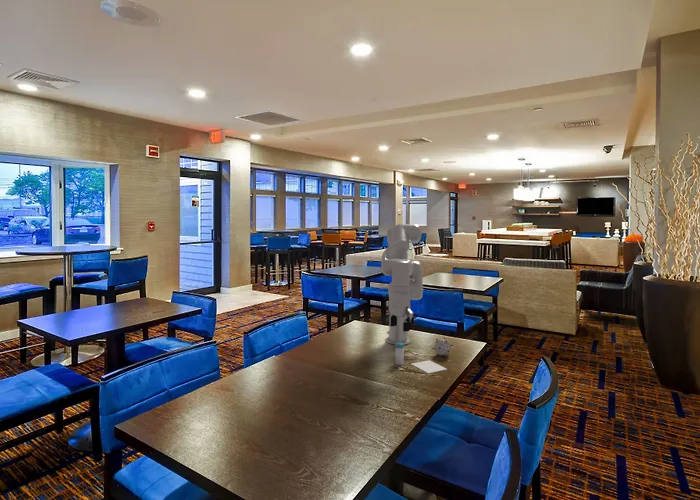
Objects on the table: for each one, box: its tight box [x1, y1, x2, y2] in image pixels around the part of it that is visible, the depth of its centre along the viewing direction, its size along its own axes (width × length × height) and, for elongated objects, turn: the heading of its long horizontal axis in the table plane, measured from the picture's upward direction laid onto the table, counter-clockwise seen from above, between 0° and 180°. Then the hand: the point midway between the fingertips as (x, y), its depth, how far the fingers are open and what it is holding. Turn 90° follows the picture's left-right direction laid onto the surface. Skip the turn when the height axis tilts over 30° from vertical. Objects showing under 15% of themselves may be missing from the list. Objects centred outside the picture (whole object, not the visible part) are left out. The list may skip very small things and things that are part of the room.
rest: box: [404, 353, 417, 361], centre depth 190 cm, size 6×6×1 cm
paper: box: [410, 359, 448, 374], centre depth 177 cm, size 12×10×1 cm
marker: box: [394, 342, 405, 366], centre depth 181 cm, size 4×4×9 cm
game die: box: [431, 337, 454, 358], centre depth 192 cm, size 9×8×10 cm
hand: (400, 328), depth 179 cm, fingers open, 9 cm apart
